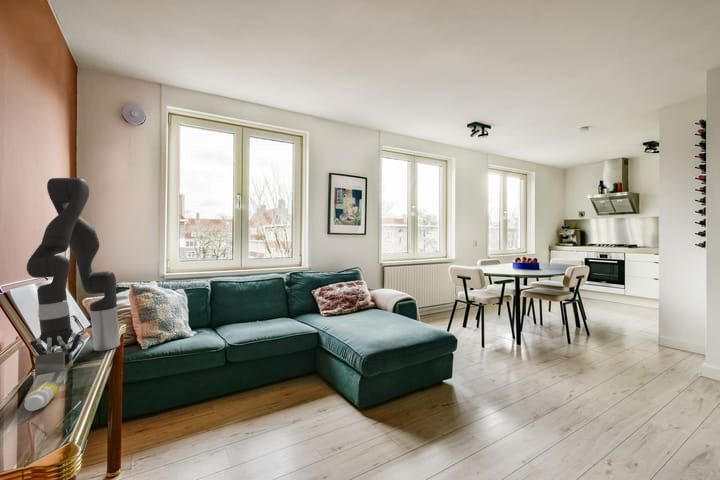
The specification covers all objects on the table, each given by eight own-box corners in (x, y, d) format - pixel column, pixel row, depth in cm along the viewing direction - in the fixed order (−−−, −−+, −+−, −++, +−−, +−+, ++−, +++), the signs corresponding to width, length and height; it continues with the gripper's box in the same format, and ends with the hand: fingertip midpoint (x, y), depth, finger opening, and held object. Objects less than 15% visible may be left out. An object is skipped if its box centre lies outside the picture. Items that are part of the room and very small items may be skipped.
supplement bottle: (34, 397, 104) (18, 414, 94) (38, 379, 104) (22, 394, 95) (57, 397, 106) (43, 413, 97) (61, 379, 106) (47, 394, 97)
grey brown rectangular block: (54, 368, 117) (54, 350, 118) (79, 364, 120) (79, 347, 121) (35, 375, 105) (35, 356, 106) (63, 370, 108) (63, 351, 109)
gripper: (84, 309, 119) (89, 357, 120) (33, 315, 113) (38, 365, 114) (76, 314, 112) (81, 365, 113) (21, 321, 106) (27, 374, 108)
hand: (60, 365), depth 114 cm, fingers closed on grey brown rectangular block, 3 cm apart
